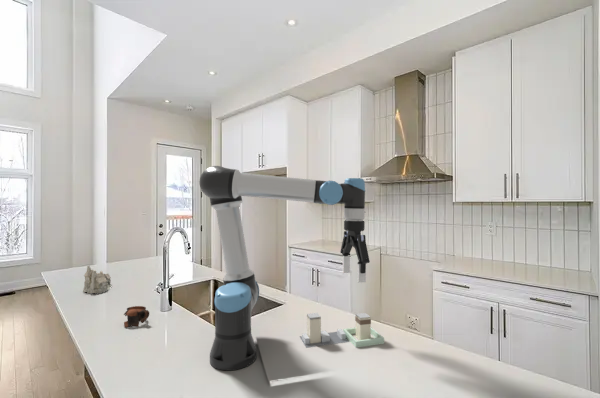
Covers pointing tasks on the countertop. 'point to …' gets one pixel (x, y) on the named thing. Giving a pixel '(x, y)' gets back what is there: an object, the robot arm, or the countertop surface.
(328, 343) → the block
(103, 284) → the ceramic cottage
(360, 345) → the tray
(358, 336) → the block
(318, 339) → the block
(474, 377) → the countertop surface
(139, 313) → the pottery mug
